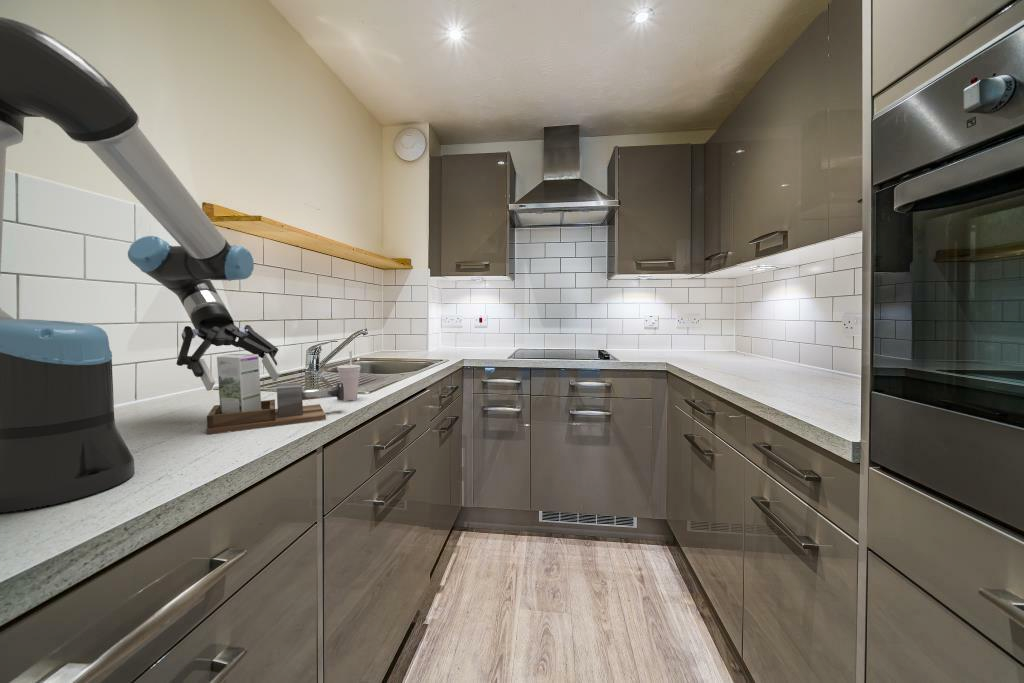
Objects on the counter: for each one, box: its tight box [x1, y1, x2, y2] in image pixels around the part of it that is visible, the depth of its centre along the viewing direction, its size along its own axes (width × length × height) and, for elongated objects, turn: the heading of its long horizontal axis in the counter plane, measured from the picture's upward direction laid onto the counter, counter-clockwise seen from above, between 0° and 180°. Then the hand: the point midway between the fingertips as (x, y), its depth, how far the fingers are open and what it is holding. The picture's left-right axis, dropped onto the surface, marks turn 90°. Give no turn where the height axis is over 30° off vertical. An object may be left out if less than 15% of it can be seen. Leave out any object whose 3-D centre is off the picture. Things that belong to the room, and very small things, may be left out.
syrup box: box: [216, 353, 262, 414], centre depth 89 cm, size 6×6×14 cm
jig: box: [206, 381, 327, 435], centre depth 92 cm, size 14×22×8 cm, turn 121°
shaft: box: [302, 382, 344, 401], centre depth 97 cm, size 4×13×4 cm, turn 121°
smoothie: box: [336, 350, 362, 401], centre depth 114 cm, size 6×6×14 cm
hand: (246, 381), depth 89 cm, fingers open, 13 cm apart
